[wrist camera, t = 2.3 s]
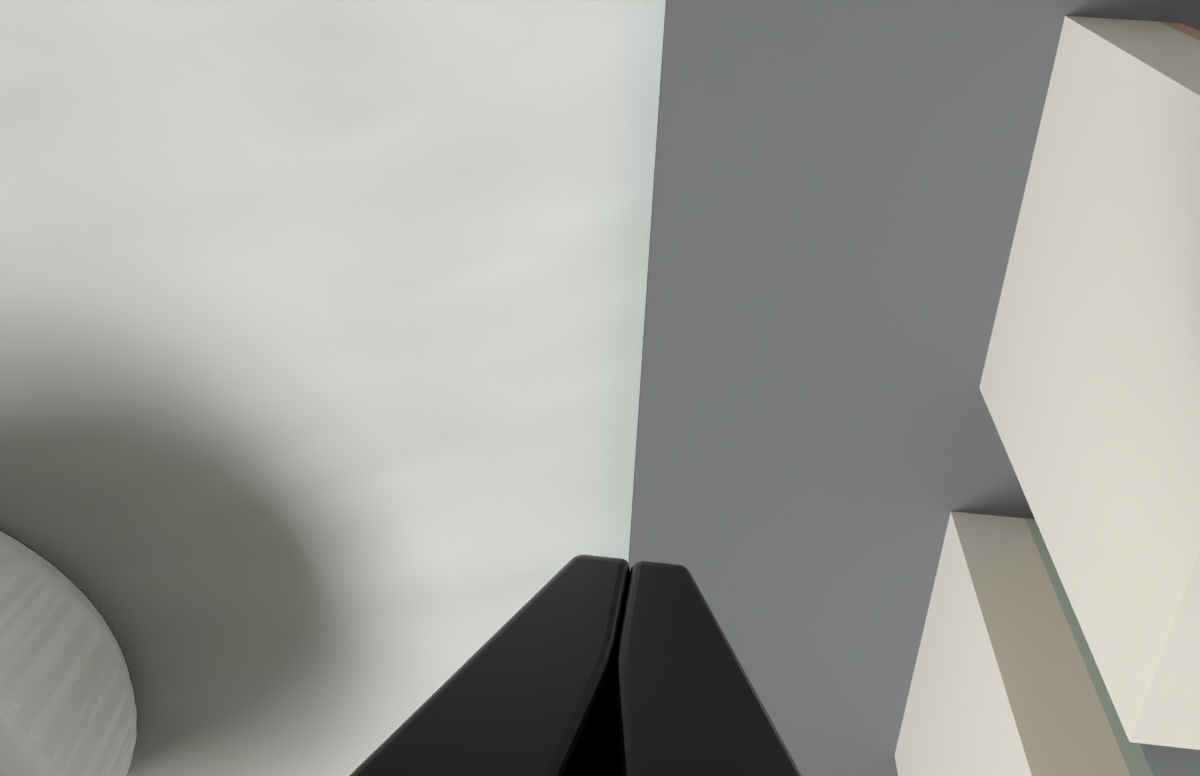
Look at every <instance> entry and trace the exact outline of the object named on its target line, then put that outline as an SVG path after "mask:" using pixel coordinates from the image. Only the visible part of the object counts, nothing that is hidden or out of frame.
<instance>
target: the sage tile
mask: <svg viewBox="0 0 1200 776" xmlns="http://www.w3.org/2000/svg"><path fill="white" fill-rule="evenodd" d="M895 761H896V767H897V773H898V776H1153V774H1152V771H1151V769H1150V767H1149V764H1148V762H1147V760H1146V758H1145V755H1144V753H1143V751H1142V748H1141V746H1140V744H1139V743H1133V742H1129V740H1128V737H1127V735H1126V733H1125V730H1124V728H1123V726H1122V723H1121V721H1120V719H1119V716H1118V714H1117V711H1116V709H1115V707H1114V704H1113V702H1112V700H1111V697H1110V695H1109V693H1108V690H1107V688H1106V686H1105V683H1104V681H1103V678H1102V676H1101V674H1100V671H1099V669H1098V667H1097V664H1096V662H1095V660H1094V657H1093V655H1092V653H1091V650H1090V648H1089V645H1088V643H1087V641H1086V638H1085V636H1084V634H1083V631H1082V629H1081V627H1080V624H1079V622H1078V620H1077V617H1076V615H1075V612H1074V610H1073V608H1072V605H1071V603H1070V601H1069V598H1068V596H1067V594H1066V591H1065V589H1064V587H1063V584H1062V582H1061V579H1060V577H1059V575H1058V572H1057V570H1056V568H1055V565H1054V563H1053V561H1052V558H1051V556H1050V554H1049V551H1048V549H1047V546H1046V544H1045V542H1044V539H1043V537H1042V535H1041V532H1040V530H1039V528H1038V525H1037V523H1036V520H1035V519H1025V518H1015V517H1004V516H994V515H984V514H973V513H963V512H953V511H951V512H950V517H949V521H948V525H947V530H946V534H945V538H944V543H943V547H942V551H941V556H940V560H939V564H938V569H937V573H936V578H935V582H934V586H933V591H932V595H931V599H930V604H929V608H928V612H927V617H926V621H925V625H924V630H923V634H922V638H921V643H920V647H919V651H918V656H917V660H916V664H915V669H914V673H913V677H912V682H911V686H910V690H909V695H908V699H907V703H906V708H905V712H904V716H903V721H902V725H901V729H900V734H899V738H898V742H897V747H896V751H895Z"/></svg>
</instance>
